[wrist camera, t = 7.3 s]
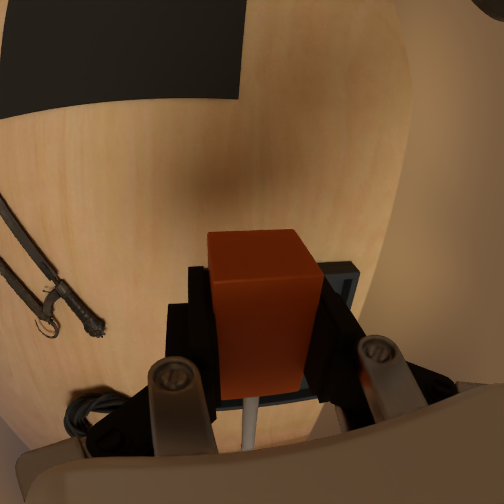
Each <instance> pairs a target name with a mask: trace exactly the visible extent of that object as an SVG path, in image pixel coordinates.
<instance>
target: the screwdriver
mask: <svg viewBox="0 0 504 504" xmlns="http://www.w3.org/2000/svg"><path fill="white" fill-rule="evenodd" d="M207 246H208V270H209V277H210V286H211V296H212V305H213V313H214V315H215V322H216V330H217V338H218V348H219V367H220V387H221V400H231V399H241V398H243V413H242V444H241V451H250V450H254V441H255V432H256V422H257V413H258V403H259V397H260V396H268V395H276V394H283V393H290V392H296V391H299V389H300V385H301V381H302V377H303V372H304V368H305V363H306V359H307V355H308V350H309V346H310V341H311V337H312V332H313V328H314V323H315V318H316V313H317V308H318V305H319V300H320V295H321V290H322V284H323V279H324V273H323V272H322V270H321V269H320V267H319V266H318V264H317V263H316V261H315V260H314V258H313V257H312V255H311V254H310V252H309V251H308V249H307V248H306V246H305V245H304V243H303V242H302V240H301V239H300V237H299V236H298V235H297V233H296V232H295V230H293V229H283V230H252V231H225V232H209V233H208V234H207Z"/></svg>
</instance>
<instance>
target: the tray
mask: <svg viewBox="0 0 504 504" xmlns="http://www.w3.org/2000/svg"><path fill="white" fill-rule="evenodd" d="M317 264H318V266H319V267H320V269H321V270H322V272H323V273H324V275H325V277H326V278H327V280H328V282H329V283H330V285H331V286H332V288H333V289H334V291H335V292H337V293H339V294H340V295H341V297H342V298H343V300H344V302H345V303H346V305H347V306H348V308H349V309H351V306H352V302H353V298H354V295H355V291H356V287H357V283H358V278H359V276H360V271H359V270H358V269H357V268H356V266H355V265H354V264H353V263H352V262H333V263H317ZM204 270H208V268H206V269H204ZM316 398H317V395H316V396H313V395H312V394H311V391H310V389H309V386H308V383H307V381H306V378H305V375H304V373H303V377H302V381H301V385H300V389H299V391H296V392H290V393H283V394H276V395H268V396H260V397H259V403H258V407H265V406H272V405H280V404H286V403H293V402H299V401H305V400H311V399H316ZM221 404H222V408H216V411H226V410H237V409H243V398H241V399H231V400H221Z"/></svg>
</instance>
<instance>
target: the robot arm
mask: <svg viewBox="0 0 504 504" xmlns="http://www.w3.org/2000/svg"><path fill="white" fill-rule="evenodd" d="M303 373H304V375H305V378H306V381H307V383H308V386H309V389H310V391H311V394H312V395H313V396H316V395H317V398H318V400H319V403H324V402H328V401H330V402H331V403H332V404H334V405H335V411H336V414H337V418H338V422H339V425H340V429H341V432H342V433H341V434H337V435H333V436H328V437H324V438H320V439H315V440H311V441H305V442H300V443H295V444H289V445H283V446H277V447H271V448H264V449H257V450H250V451H241V452H232V453H221V454H219V453H218V449H217V445H216V441H215V437H214V433H213V429H212V425H211V424H212V423H213V422H214V421H215V420H216V419H217V417H216V408H222V404H221V387H220V367H219V348H218V338H217V330H216V322H215V315H214V313H213V305H212V296H211V286H210V277H209V270H204V268H203V266H195V267H188V303H180V304H169V305H168V315H167V331H166V350H165V358H163V359H160V360H158V361H157V362H156V363H154V364H153V365H152V366H151V368H150V370H149V371H148V386H146V387H145V388H144V389H142V390H141V391H140V392H138V393H137V394H136V395H134V396H133V397H132V398H130V399H129V400H127V401H126V402H125V403H123V404H122V405H121V406H119V407H118V408H117V409H115V410H114V411H113V412H111V413H110V414H108V415H107V416H106V417H104V418H103V419H102V420H100V421H99V422H97V423H96V424H95V425H94V426H93V427H92V428H91V429H90V430H89V432H88V433H87V435H86V436H84V437H81V438H78V437H77V436H74V437H71V438H68V439H65V440H62V441H59V442H56V443H53V444H50V445H47V446H44V447H41V448H38V449H34V450H31V451H28V452H26V453H24V454H22V455H21V456H20V457H19V458H18V460H17V462H16V466H15V469H16V476H17V479H18V483H19V486H20V489H21V492H22V495H23V499H24V502H25V504H504V383H494V384H480V383H469V382H459V381H457V382H456V383H455V384H454V382H453V381H452V380H451V379H449V378H448V377H446V376H444V375H441V374H438V373H436V372H433V371H431V370H428V369H425V368H423V367H420V366H417V365H415V364H412V363H410V362H407V361H405V359H404V357H403V355H402V354H401V352H400V350H399V348H398V346H397V345H396V344H395V343H394V342H393V341H392V340H390V339H389V338H386V337H384V336H380V335H369V336H366V335H365V333H364V331H363V330H362V328H361V327H360V325H359V323H358V322H357V320H356V319H355V317H354V316H353V314H352V312H351V311H350V309H349V308H348V306H347V305H346V303H345V302H344V300H343V298H342V297H341V295H340V294H339V293H337V292H335V291H334V289H333V288H332V286H331V285H330V283H329V282H328V280H327V278H326V277H325V275H324V279H323V284H322V290H321V295H320V300H319V305H318V308H317V313H316V318H315V323H314V328H313V332H312V337H311V341H310V346H309V350H308V355H307V359H306V363H305V368H304V372H303Z"/></svg>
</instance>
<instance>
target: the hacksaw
mask: <svg viewBox="0 0 504 504" xmlns="http://www.w3.org/2000/svg"><path fill="white" fill-rule="evenodd" d="M0 215H1V217H2V218H3V220H4V221H5V223H6V224H7V226H8V227H9V228H10V230H11V231H12V233H13V234H14V236H15V237H16V238H17V240H18V241H19V242H20V244H21V245H22V246H23V248H24V249H25V250H26V252H27V253H28V254H29V256H30V257H31V258H32V260H33V261H34V262H35V263H36V265H37V266H38V267H39V268H40V270H41V271H42V272H43V273H44V275H45V276H46V277H47V278H48V279H49V281H51V280H52V281H53V282H54V284H55V285H56V286H55V289H54V290H53V291H52V292H48V293H50V294H49V295H48V296H47V297H46V298H45V301H44V303H43V307H41V306H40V305H39V304H38V303H37V302H36V301H35V300H34V299H33V297H32V296H31V295H30V294H29V293H28V292H27V290H25V288H23V286H22V284H21V283H20V282H19V281H18V280H17V279H16V278H15V276H13V274H12V273H11V272H10V271H9V270H8V269H7V267H6V266H5V265H4V263H2V261H1V259H0V273H1V275H2V276H4V278H5V279H6V281H7V282H8V283H9V285H10V286H11V287H12V288H13V289H14V291H15V292H16V293H17V295H19V297H20V298H21V299H22V300H23V301H24V302H25V303H26V305H27V306H28V307H29V308H30V309H31V310H32V311H33V313H34V314H35V315H36V316H37V317H38V318H39V319H40V320H44V321H46V322H48V323H49V325H50V324H51V325H52V326H53V327H54V329H55V335H54V336H52V337H50V336H47V335H45V334H44V333H43V332H42V331H41V330H40V329H39V327H38V325H37V322H36V320H35V322H36V325H37V327H38V329H39V331H40V332H41V333H42V334H43V335H45V336H46V337H48V338H56V337H57V336H58V334H59V330H58V328H57V326H56V324H55V323H54V322H53V319H51V315H52V314H53V312H52V304H53V303H54V302H55V301H56V300H58V299H59V298H60V297H62V299H64V300H65V302H66V303H67V304H68V306H69V307H70V308H71V310H72V311H73V312H74V313H75V314H76V316H77V317H78V318H79V319H80V320H81V321H82V323H83V325H84V329H85V331H86V332H87V333H89V335H90V336H92V337H97V338H100V336H101V337H102V338H103V336H102V335H106V333H104V332H102V331H104V327H105V324H104V323H103V322H102V321H99V320H98V319H97V318H96V317H95V316H93V315H92V313H91V312H89V311H88V310H87V309H86V307H85V306H84V305H83V304H82V303H81V302H80V301H79V300H78V298H77V297H76V296H75V295H74V294H73V293H72V292H71V289H68V287H67V286H66V285H65V283H64V282H63V281H60V282H59V281H58V280H57V278H56V276H57V275H56V273H55V272H54V271H53V270H52V268H51V267H50V266H49V265H48V263H47V262H46V261H45V259H44V258H43V257H42V256H41V254H40V253H39V252H38V251H37V249H36V248H35V247H34V245H33V244H32V243H31V241H30V240H29V238H28V237H27V236H26V234H25V233H24V232H23V230H22V229H21V227H20V226H19V225H18V223H17V222H16V220H15V219H14V218H13V216H12V214H11V213H10V211H9V210H8V209H7V207H6V205H5V204H4V202H3V201H2V200H1V198H0ZM43 292H47V291H45V290H43Z"/></svg>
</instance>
